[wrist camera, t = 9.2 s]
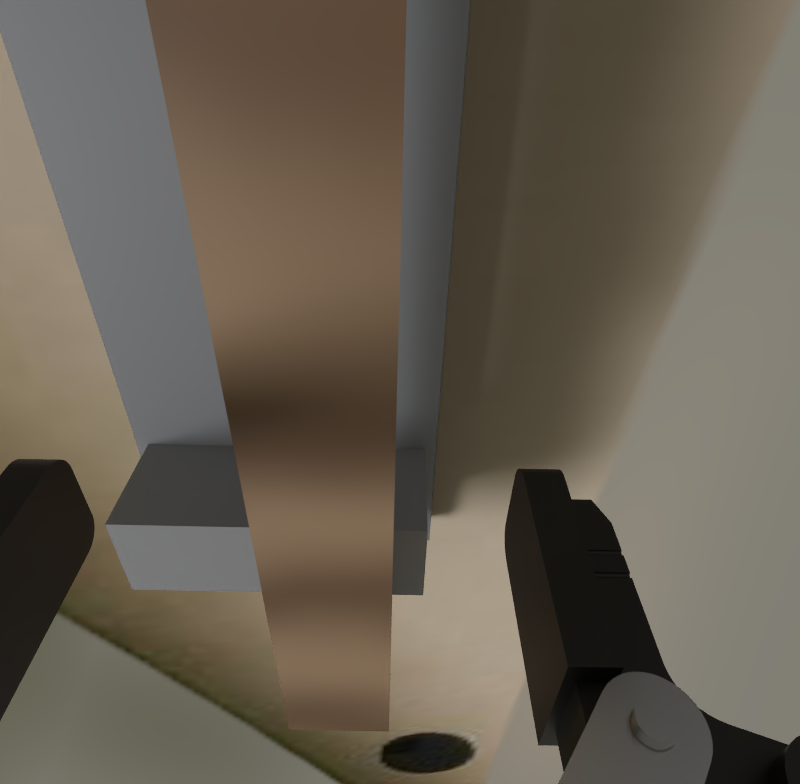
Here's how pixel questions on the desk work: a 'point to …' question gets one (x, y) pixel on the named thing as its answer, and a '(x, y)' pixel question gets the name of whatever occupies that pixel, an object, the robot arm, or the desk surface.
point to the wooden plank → (302, 310)
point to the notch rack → (181, 286)
